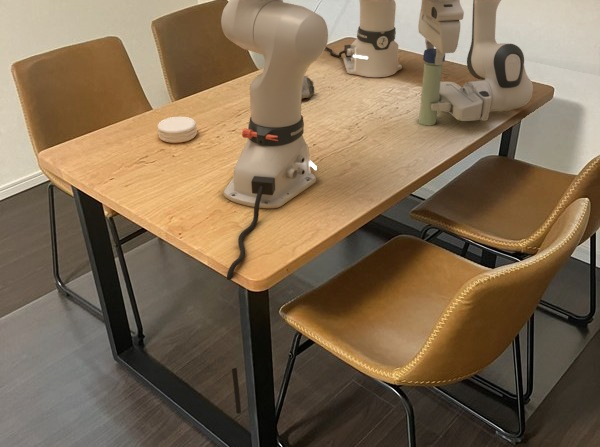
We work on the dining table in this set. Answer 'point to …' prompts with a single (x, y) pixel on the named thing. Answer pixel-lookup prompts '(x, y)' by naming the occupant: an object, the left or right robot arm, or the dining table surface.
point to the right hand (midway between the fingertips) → (426, 102)
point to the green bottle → (430, 93)
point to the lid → (430, 55)
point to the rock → (307, 88)
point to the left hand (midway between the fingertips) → (433, 60)
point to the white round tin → (177, 129)
